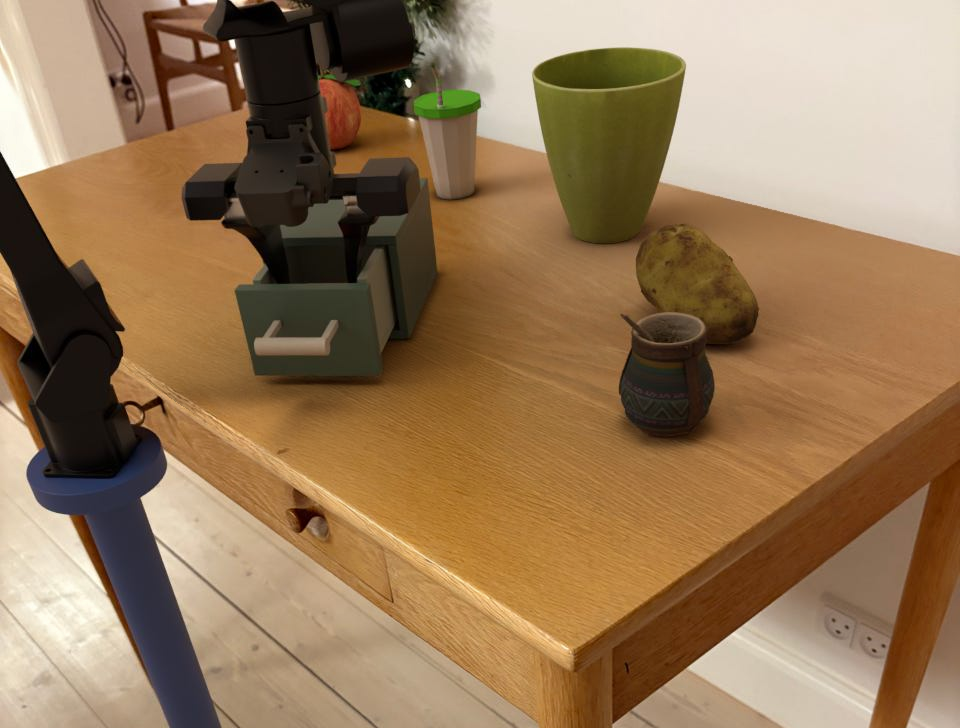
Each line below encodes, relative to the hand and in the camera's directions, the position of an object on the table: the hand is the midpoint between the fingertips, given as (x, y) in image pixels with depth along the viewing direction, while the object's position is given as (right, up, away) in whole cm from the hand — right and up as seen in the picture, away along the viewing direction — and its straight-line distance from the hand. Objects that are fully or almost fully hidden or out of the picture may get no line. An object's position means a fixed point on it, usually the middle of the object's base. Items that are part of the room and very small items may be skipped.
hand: (320, 290), depth 91 cm
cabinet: (+2, +3, +13) cm, 13 cm away
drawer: (0, -4, +3) cm, 6 cm away
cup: (+11, +23, +35) cm, 43 cm away
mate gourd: (+28, -14, -8) cm, 33 cm away
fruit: (-6, +37, +52) cm, 64 cm away
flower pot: (+28, +14, +22) cm, 38 cm away
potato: (+33, -2, +4) cm, 33 cm away
